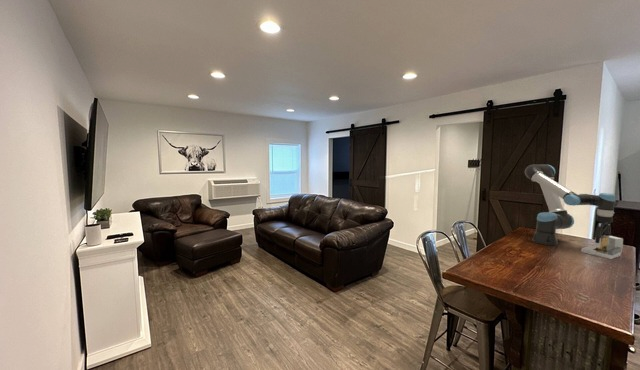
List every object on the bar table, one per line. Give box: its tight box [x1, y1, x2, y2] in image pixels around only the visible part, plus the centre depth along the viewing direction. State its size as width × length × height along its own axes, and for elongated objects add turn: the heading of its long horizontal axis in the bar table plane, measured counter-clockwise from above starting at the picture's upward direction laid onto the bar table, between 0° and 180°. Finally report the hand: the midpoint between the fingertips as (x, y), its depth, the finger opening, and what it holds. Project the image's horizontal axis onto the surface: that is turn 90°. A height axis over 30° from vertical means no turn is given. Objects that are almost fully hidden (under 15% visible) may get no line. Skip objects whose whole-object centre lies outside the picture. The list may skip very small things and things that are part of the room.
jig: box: [580, 245, 622, 260], centre depth 180 cm, size 15×15×6 cm
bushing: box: [596, 235, 608, 252], centre depth 180 cm, size 5×5×12 cm
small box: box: [607, 235, 624, 254], centre depth 185 cm, size 8×6×10 cm
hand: (601, 246), depth 180 cm, fingers open, 13 cm apart
